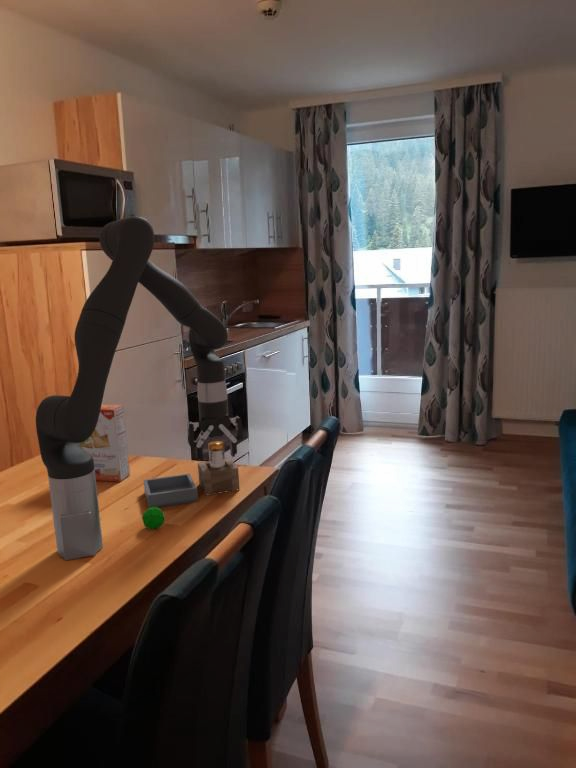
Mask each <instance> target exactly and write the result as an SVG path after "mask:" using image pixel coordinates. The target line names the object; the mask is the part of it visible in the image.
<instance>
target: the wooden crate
mask: <svg viewBox="0 0 576 768" xmlns="http://www.w3.org/2000/svg"><path fill="white" fill-rule="evenodd" d="M197 470H198V473H197V474H198V484H199V486H200V488H201V490H202V492H203V491H204V492H203V494H204V493H205V494H204V496H208V495H207V494H210V495H214V494H213V493H217V494H220V493H219V492H223V493H226V492H225V491H230V492H233V491H232V490H236V491H238V490H237V489H240V478H239V477H240V476H239V474H240V473H239V467H238V466H237V464H236V463H235V462H234V461H233V459H232V457H231V458H230V457H229V458H225V468H219V469H212V470H210V460H208V461H206V460H205V461H199V462H197Z"/></svg>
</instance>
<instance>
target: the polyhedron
mask: <svg viewBox="0 0 576 768" xmlns="http://www.w3.org/2000/svg"><path fill="white" fill-rule="evenodd" d="M141 519H142V523H143V525H144V527H145V528H147V529H148V530H150V531H151V530H157V529H159V528H160V527H161V526H162V525H163V524H164V522H165V515H164V512H163V510H162V509H161V508H160V507H159V508H157V507H150V508H149V507H148V508H147V510H145V511H144V512H143V513H142V516H141Z"/></svg>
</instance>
